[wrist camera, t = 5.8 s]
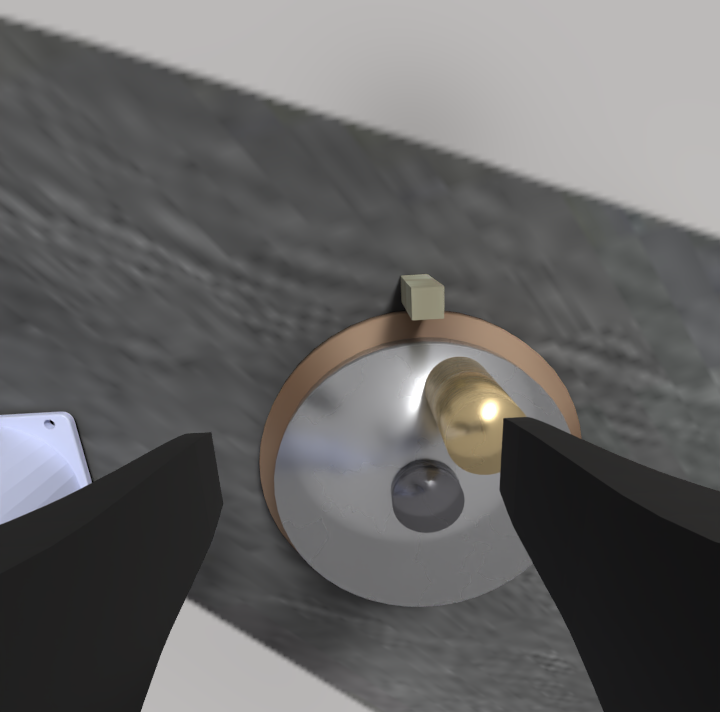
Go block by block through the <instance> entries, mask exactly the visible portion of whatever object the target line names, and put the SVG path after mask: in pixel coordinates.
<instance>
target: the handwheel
mask: <svg viewBox="0 0 720 712" xmlns="http://www.w3.org/2000/svg"><path fill="white" fill-rule="evenodd" d="M514 417H531V418H534V419H537V420H540V421H542V422H545V423H547V424H549V425H552V426H554V427H556V428H558V429H561V430H563V431H565V432H567V433H569V434H571V432H570V430H569V428H568V425H567V423H566V421H565V419H564V416H563V415H562V413H561V411H560V410H559V408H558V407H557V405H556V404H555V402H554V400H553V399H552V398H551V397H550V396H549V395H548V394H547V392H546V391H545V390H544V389H543V388H542V387H541V386H540V385H539V384H538V383H537V382H536V381H535V380H533V379H532V378H531V377H530V376H529V375H528V374H526V373H525V372H524V371H523V370H522V369H521V368H519V367H518V366H517V365H516V364H514V363H513V362H511V361H509V360H508V359H506V358H505V357H503V356H501V355H500V354H498V353H495V352H493V351H491V350H489V349H486V348H484V347H482V346H478V345H475V344H472V343H468V342H465V341H460V340H454V339H447V338H432V337H420V338H410V339H401V340H396V341H392V342H388V343H383V344H380V345H377V346H374V347H372V348H369V349H366V350H364V351H361V352H359V353H357V354H355V355H354V356H352V357H350V358H348V359H346V360H344V361H343V362H341V363H340V364H338V365H337V366H335V367H334V368H333V369H331V370H330V371H328V372H327V373H326V374H325V375H324V376H323V377H322V378H321V379H319V380H318V381H317V382H316V383H315V384H314V385H313V386H312V387H311V389H310V390H309V391H308V392H307V393H306V395H305V396H304V397H303V398H302V400H301V401H300V403H299V404H298V406H297V408H296V409H295V411H294V412H293V414H292V416H291V418H290V421H289V423H288V425H287V428H286V430H285V433H284V435H283V438H282V441H281V444H280V448H279V452H278V455H277V459H276V466H275V475H274V488H275V499H276V504H277V509H278V513H279V516H280V519H281V522H282V525H283V527H284V529H285V531H286V533H287V535H288V537H289V539H290V541H291V542H292V544H293V545H294V547H295V548H296V549H297V551H298V552H299V554H300V555H301V556H302V557H303V558H304V559H305V560H306V561H307V563H308V564H309V565H310V566H311V567H312V568H313V569H315V570H316V571H317V572H318V573H319V574H321V575H322V576H323V577H324V578H326V579H327V580H329V581H330V582H332V583H334V584H335V585H337V586H338V587H340V588H342V589H344V590H346V591H348V592H350V593H353V594H355V595H357V596H360V597H363V598H366V599H369V600H372V601H376V602H381V603H385V604H390V605H398V606H409V607H427V606H439V605H446V604H451V603H456V602H461V601H464V600H467V599H471V598H474V597H477V596H480V595H482V594H484V593H487V592H489V591H492V590H494V589H496V588H498V587H499V586H501V585H503V584H505V583H507V582H509V581H510V580H511V579H513V578H514V577H516V576H517V575H519V574H520V573H522V572H523V571H524V570H525V569H527V568H528V567H529V566H530V565H531V564H532V563H533V562H532V561H531V559H530V557H529V555H528V553H527V551H526V550H525V548H524V546H523V544H522V542H521V540H520V538H519V537H518V535H517V533H516V531H515V529H514V527H513V525H512V522H511V520H510V517H509V515H508V512H507V510H506V507H505V504H504V502H503V499H502V496H501V493H500V491H499V487H500V470H501V452H502V434H503V418H514Z"/></svg>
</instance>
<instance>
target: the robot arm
mask: <svg viewBox="0 0 720 712" xmlns="http://www.w3.org/2000/svg"><path fill="white" fill-rule="evenodd" d="M50 420H52V421H53V422H54V423H55V425H52V424H51V423H50ZM499 491H500V493H501V496H502V499H503V502H504V504H505V507H506V510H507V512H508V515H509V517H510V520H511V522H512V525H513V527H514V529H515V531H516V533H517V535H518V537H519V538H520V540H521V542H522V544H523V546H524V548H525V550H526V551H527V553H528V555H529V557H530V559H531V561H532V562H533V564H534V566H535V568H536V570H537V571H538V573H539V575H540V577H541V579H542V580H543V582H544V584H545V586H546V588H547V590H548V591H549V593H550V595H551V597H552V599H553V600H554V602H555V604H556V606H557V608H558V609H559V611H560V613H561V615H562V617H563V619H564V621H565V623H566V625H567V627H568V629H569V631H570V633H571V635H572V638H573V640H574V642H575V645H576V647H577V649H578V652H579V654H580V656H581V659H582V661H583V663H584V666H585V668H586V670H587V672H588V675H589V677H590V679H591V682H592V684H593V686H594V689H595V691H596V694H597V696H598V699H599V701H600V704H601V706H602V709H603V711H604V712H720V491H716V490H713V489H710V488H706V487H703V486H700V485H697V484H694V483H691V482H688V481H685V480H682V479H679V478H676V477H673V476H670V475H667V474H665V473H662V472H659V471H656V470H654V469H651V468H648V467H646V466H643V465H641V464H638V463H636V462H633V461H631V460H628V459H626V458H623V457H621V456H619V455H616V454H614V453H612V452H609V451H607V450H605V449H602V448H600V447H598V446H596V445H593V444H591V443H589V442H587V441H585V440H582V439H580V438H578V437H576V436H574V435H571V434H569V433H567V432H565V431H563V430H561V429H558V428H556V427H554V426H552V425H549V424H547V423H545V422H542V421H540V420H537V419H534V418H531V417H514V418H503V434H502V452H501V470H500V487H499ZM222 506H223V500H222V494H221V488H220V482H219V476H218V470H217V464H216V458H215V452H214V446H213V440H212V434H211V432H210V433H190V434H184V435H182V436H179V437H177V438H175V439H173V440H171V441H169V442H167V443H165V444H163V445H161V446H159V447H157V448H156V449H154V450H152V451H150V452H148V453H147V454H145V455H143V456H141V457H139V458H138V459H136V460H134V461H132V462H130V463H128V464H127V465H125V466H123V467H121V468H119V469H118V470H116V471H114V472H112V473H110V474H108V475H106V476H104V477H102V478H100V479H98V480H96V481H95V482H93V483H92V481H91V477H90V474H89V470H88V467H87V463H86V460H85V456H84V453H83V449H82V445H81V442H80V438H79V435H78V431H77V428H76V424H75V421H74V419H73V417H72V416H71V415H70V414H69V413H67V412H45V413H28V414H10V415H0V712H141V709H142V706H143V703H144V700H145V697H146V694H147V692H148V689H149V686H150V683H151V680H152V678H153V675H154V672H155V669H156V666H157V663H158V661H159V658H160V655H161V652H162V650H163V648H164V645H165V643H166V640H167V638H168V635H169V633H170V631H171V629H172V627H173V624H174V622H175V620H176V618H177V616H178V614H179V612H180V609H181V607H182V605H183V603H184V601H185V599H186V596H187V594H188V592H189V590H190V588H191V586H192V584H193V581H194V579H195V577H196V575H197V573H198V571H199V569H200V566H201V564H202V562H203V560H204V558H205V555H206V553H207V551H208V549H209V546H210V544H211V542H212V539H213V536H214V533H215V530H216V527H217V523H218V520H219V516H220V513H221V509H222Z"/></svg>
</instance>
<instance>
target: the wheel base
mask: <svg viewBox="0 0 720 712" xmlns="http://www.w3.org/2000/svg"><path fill="white" fill-rule="evenodd" d="M401 302H402V304H403V306H404V307H405V309H406V311H399V312H392V313H388V314H384V315H380V316H376V317H372V318H369V319H366V320H364V321H361V322H359V323H356V324H354V325H351V326H349V327H347V328H346V329H344V330H342V331H340V332H338V333H337V334H335V335H333V336H331V337H330V338H328V339H327V340H326V341H324V342H323V343H322V344H320V345H319V346H318V347H316V348H315V349H314V350H313V351H312V352H311V353H310V354H309V355H307V356H306V357H305V358H304V359H303V360H302V361H301V362H300V363H299V364H298V366H297V367H296V368H295V369H294V371H293V372H292V373H291V375H290V376H289V377H288V379H287V380H286V381H285V383H284V385H283V387H282V388H281V390H280V392H279V394H278V395H277V397H276V399H275V401H274V404H273V406H272V408H271V411H270V413H269V416H268V418H267V421H266V424H265V427H264V432H263V436H262V440H261V448H260V461H259V463H260V477H261V484H262V488H263V493H264V497H265V500H266V503H267V505H268V508H269V510H270V513H271V515H272V517H273V519H274V521H275V523H276V524H277V526H278V528H279V530H280V531H281V533H282V534H283V535H284V537H285V538H286V539H287V541H288V542H289V543H290V545H291V546H292V547H293V548H294V549H295V550H296V551H297V549H296V548H295V547H294V545H293V544H292V542H291V541H290V539H289V537H288V535H287V533H286V531H285V529H284V527H283V525H282V522H281V519H280V516H279V513H278V509H277V504H276V499H275V488H274V475H275V466H276V459H277V455H278V452H279V448H280V444H281V441H282V438H283V435H284V433H285V430H286V428H287V425H288V423H289V421H290V418H291V416H292V414H293V412H294V411H295V409H296V408H297V406H298V404H299V403H300V401H301V400H302V398H303V397H304V396H305V395H306V393H307V392H308V391H309V390H310V389H311V387H312V386H313V385H314V384H315V383H316V382H317V381H318V380H319V379H321V378H322V377H323V376H324V375H325V374H326V373H327V372H328V371H330V370H331V369H333V368H334V367H335V366H337V365H338V364H340V363H341V362H343V361H344V360H346V359H348V358H350V357H352V356H354V355H355V354H357V353H359V352H361V351H364V350H366V349H369V348H372V347H374V346H377V345H380V344H383V343H388V342H392V341H396V340H401V339H410V338H420V337H432V338H447V339H454V340H460V341H465V342H468V343H472V344H475V345H478V346H482V347H484V348H486V349H489V350H491V351H493V352H495V353H498V354H500V355H501V356H503V357H505V358H506V359H508V360H509V361H511V362H513V363H514V364H516V365H517V366H518V367H519V368H521V369H522V370H523V371H524V372H525V373H526V374H528V375H529V376H530V377H531V378H532V379H533V380H535V381H536V382H537V383H538V384H539V385H540V386H541V387H542V388H543V389H544V390H545V391H546V392H547V394H548V395H549V396H550V397H551V398H552V399H553V400H554V402H555V404H556V405H557V407H558V408H559V410H560V411H561V413H562V415H563V416H564V419H565V421H566V423H567V425H568V428H569V430H570V432H571V435H574V436H576V437H578V438H580V439H581V431H580V424H579V421H578V417H577V413H576V410H575V406H574V404H573V402H572V400H571V398H570V395H569V393H568V391H567V389H566V387H565V386H564V384H563V383H562V381H561V380H560V378H559V377H558V375H557V374H556V372H555V371H554V370H553V369H552V368H551V367H550V365H549V364H548V363H547V362H546V361H545V360H544V359H543V358H542V357H541V356H540V355H539V354H538V353H536V352H535V351H534V350H533V349H532V348H530V347H529V346H528V345H527V344H526V343H524V342H523V341H521V340H520V339H519V338H517V337H515V336H514V335H512V334H510V333H509V332H507V331H505V330H504V329H502V328H501V327H499V326H496V325H494V324H492V323H489V322H487V321H485V320H482V319H480V318H476V317H473V316H469V315H465V314H462V313H457V312H450V311H444V286H443V285H442V284H440V283H439V282H437V281H436V280H435V279H433V278H432V277H430V276H429V275H428V274H420V275H403V276H401ZM297 552H298V551H297ZM298 553H299V552H298Z"/></svg>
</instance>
